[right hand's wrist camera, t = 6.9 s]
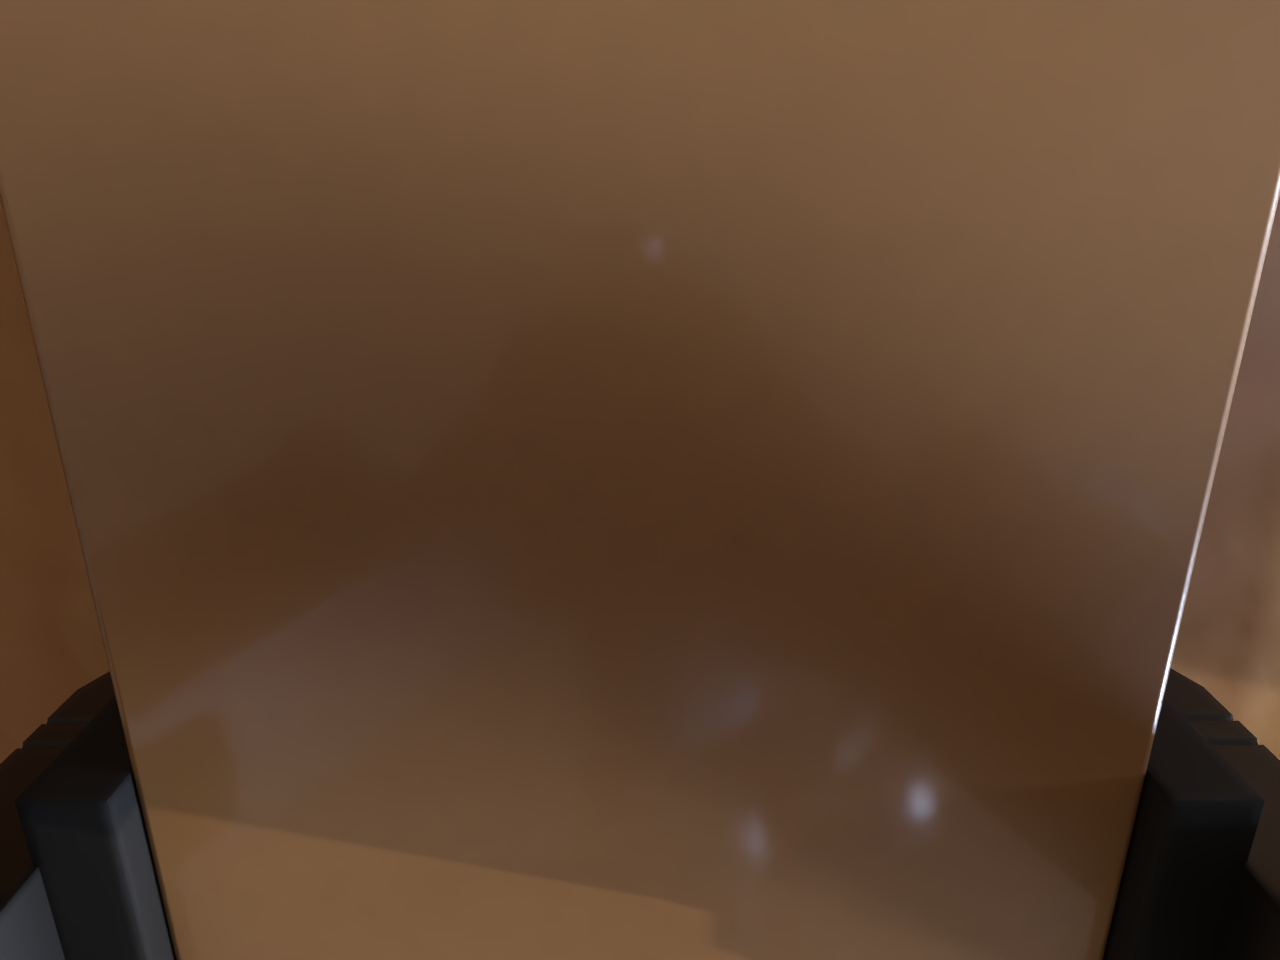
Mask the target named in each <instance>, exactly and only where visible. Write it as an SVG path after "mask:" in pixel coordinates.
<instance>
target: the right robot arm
mask: <svg viewBox="0 0 1280 960" xmlns="http://www.w3.org/2000/svg"><path fill="white" fill-rule="evenodd" d="M1232 716H1233V715H1232V714H1231V713H1230V712H1229V711H1228V710H1227V709H1226V708H1224V707H1223V706H1222V705H1221V704H1220V703H1219V702H1218V701H1217V700H1216V699H1215V698H1214V697H1213V696H1212V695H1211V694H1210V693H1209V692H1208V691H1207V690H1206V689H1205V688H1204V687H1202V686H1201V685H1199V684H1197V683H1195V682H1194V681H1192V680H1190V679H1188V678H1187V677H1185V676H1183V675H1181V674H1179V673H1178V672H1176V671H1174V670H1172V669H1171V668H1170V671H1169V675H1168V680H1167V684H1166V688H1165V693H1164V697H1163V701H1162V706H1161V710H1160V714H1159V719H1158V723H1157V727H1156V732H1155V736H1154V740H1153V745H1152V749H1151V753H1150V758H1149V762H1148V766H1147V771H1146V775H1145V779H1144V784H1143V788H1142V792H1141V796H1140V801H1139V805H1138V809H1137V814H1136V818H1135V822H1134V827H1133V831H1132V835H1131V840H1130V844H1129V848H1128V853H1127V857H1126V861H1125V866H1124V870H1123V874H1122V879H1121V883H1120V887H1119V892H1118V896H1117V900H1116V905H1115V909H1114V913H1113V918H1112V922H1111V926H1110V931H1109V935H1108V939H1107V944H1106V948H1105V952H1104V957H1103V960H1280V760H1279V759H1278V758H1277V757H1275V756H1274V755H1273V754H1272V753H1271V752H1270V751H1269V750H1268V749H1267V748H1266V747H1265V746H1264V745H1258V743H1257V738H1256V737H1255V736H1254V735H1253V734H1252V733H1251V732H1249V731H1248V730H1247V729H1246V728H1245V727H1244V726H1243V725H1242V724H1241V723H1240V722H1239V721H1233V718H1232ZM0 960H176V955H175V951H174V947H173V942H172V938H171V934H170V929H169V925H168V921H167V916H166V912H165V908H164V903H163V899H162V895H161V890H160V886H159V882H158V877H157V873H156V869H155V864H154V860H153V856H152V851H151V847H150V843H149V838H148V834H147V830H146V825H145V821H144V817H143V812H142V808H141V804H140V799H139V795H138V791H137V786H136V782H135V778H134V773H133V769H132V765H131V760H130V756H129V752H128V747H127V743H126V739H125V734H124V730H123V726H122V721H121V717H120V713H119V708H118V704H117V700H116V695H115V691H114V687H113V682H112V678H111V674H110V672H108V673H106V674H104V675H103V676H101V677H99V678H97V679H96V680H94V681H92V682H90V683H89V684H87V685H85V686H83V687H82V688H80V689H78V690H77V691H76V692H75V693H74V694H73V695H72V696H71V697H69V698H68V699H67V700H66V701H65V702H64V703H63V704H62V705H61V706H60V707H59V708H58V709H57V710H56V711H55V712H54V713H53V714H52V715H51V716H50V717H49V718H48V722H47V724H42V725H41V726H40V727H38V728H37V729H36V730H35V731H34V732H33V733H32V734H31V735H30V736H29V737H28V738H27V739H26V740H25V741H24V742H23V748H17V749H16V750H15V751H14V752H13V753H12V754H11V755H10V756H9V757H7V758H6V759H5V760H4V761H3V762H2V763H1V764H0Z"/></svg>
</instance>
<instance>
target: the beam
mask: <svg viewBox="0 0 1280 960" xmlns="http://www.w3.org/2000/svg"><path fill="white" fill-rule="evenodd" d="M1279 195H1280V0H0V197H1V201H2V205H3V210H4V214H5V218H6V223H7V227H8V231H9V236H10V240H11V244H12V249H13V253H14V257H15V262H16V266H17V270H18V275H19V279H20V283H21V288H22V292H23V296H24V301H25V305H26V309H27V314H28V318H29V322H30V327H31V331H32V335H33V340H34V344H35V348H36V353H37V357H38V361H39V366H40V370H41V374H42V379H43V383H44V387H45V392H46V396H47V400H48V405H49V409H50V413H51V418H52V422H53V426H54V431H55V435H56V439H57V444H58V448H59V452H60V457H61V461H62V465H63V470H64V474H65V478H66V483H67V487H68V491H69V496H70V500H71V504H72V509H73V513H74V517H75V522H76V526H77V530H78V535H79V539H80V543H81V548H82V552H83V556H84V561H85V565H86V569H87V574H88V578H89V582H90V587H91V591H92V595H93V600H94V604H95V609H96V613H97V617H98V622H99V626H100V630H101V635H102V639H103V643H104V648H105V652H106V656H107V661H108V665H109V669H110V674H111V678H112V682H113V687H114V691H115V695H116V700H117V704H118V708H119V713H120V717H121V721H122V726H123V730H124V734H125V739H126V743H127V747H128V752H129V756H130V760H131V765H132V769H133V773H134V778H135V782H136V786H137V791H138V795H139V799H140V804H141V808H142V812H143V817H144V821H145V825H146V830H147V834H148V838H149V843H150V847H151V851H152V856H153V860H154V864H155V869H156V873H157V877H158V882H159V886H160V890H161V895H162V899H163V903H164V908H165V912H166V916H167V921H168V925H169V929H170V934H171V938H172V942H173V947H174V951H175V955H176V960H1103V957H1104V952H1105V948H1106V944H1107V939H1108V935H1109V931H1110V926H1111V922H1112V918H1113V913H1114V909H1115V905H1116V900H1117V896H1118V892H1119V887H1120V883H1121V879H1122V874H1123V870H1124V866H1125V861H1126V857H1127V853H1128V848H1129V844H1130V840H1131V835H1132V831H1133V827H1134V822H1135V818H1136V814H1137V809H1138V805H1139V801H1140V796H1141V792H1142V788H1143V784H1144V779H1145V775H1146V771H1147V766H1148V762H1149V758H1150V753H1151V749H1152V745H1153V740H1154V736H1155V732H1156V727H1157V723H1158V719H1159V714H1160V710H1161V706H1162V701H1163V697H1164V693H1165V688H1166V684H1167V680H1168V675H1169V671H1170V667H1171V662H1172V658H1173V654H1174V649H1175V645H1176V641H1177V636H1178V632H1179V628H1180V623H1181V619H1182V615H1183V610H1184V606H1185V602H1186V597H1187V593H1188V589H1189V584H1190V580H1191V576H1192V571H1193V567H1194V563H1195V558H1196V554H1197V550H1198V546H1199V541H1200V537H1201V533H1202V528H1203V524H1204V520H1205V515H1206V511H1207V507H1208V502H1209V498H1210V494H1211V489H1212V485H1213V481H1214V476H1215V472H1216V468H1217V463H1218V459H1219V455H1220V450H1221V446H1222V442H1223V437H1224V433H1225V429H1226V424H1227V420H1228V416H1229V411H1230V407H1231V403H1232V398H1233V394H1234V390H1235V385H1236V381H1237V377H1238V372H1239V368H1240V364H1241V359H1242V355H1243V351H1244V346H1245V342H1246V338H1247V333H1248V329H1249V325H1250V321H1251V316H1252V312H1253V308H1254V303H1255V299H1256V295H1257V290H1258V286H1259V282H1260V277H1261V273H1262V269H1263V264H1264V260H1265V256H1266V251H1267V247H1268V243H1269V238H1270V234H1271V230H1272V225H1273V221H1274V217H1275V212H1276V208H1277V204H1278V199H1279Z"/></svg>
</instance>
